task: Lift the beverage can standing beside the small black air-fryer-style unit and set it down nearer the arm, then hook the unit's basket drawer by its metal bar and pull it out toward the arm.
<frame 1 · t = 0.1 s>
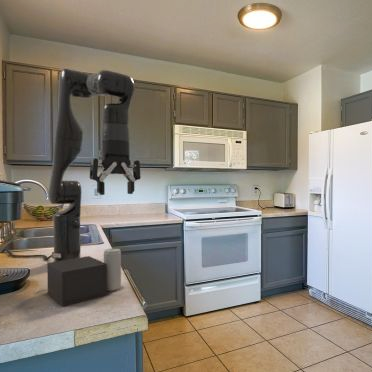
hand: (116, 194, 94), 29 cm above the countertop, tool pointing down, fingers open, 8 cm apart
fryer: (77, 294, 92), on the countertop
beverage can: (112, 289, 97), on the countertop
basket: (71, 275, 95), point 5 cm above the countertop, slide at 0.5 cm
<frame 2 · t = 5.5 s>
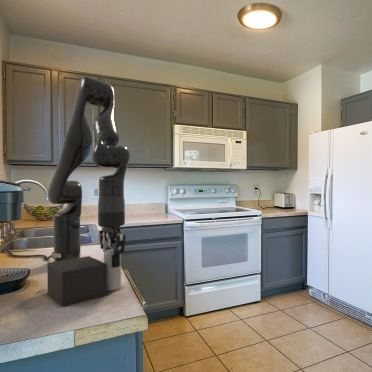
hand: (111, 265, 96), 7 cm above the countertop, tool pointing down, fingers closed on beverage can, 5 cm apart
beverage can: (112, 289, 97), on the countertop, touching gripper
everything else where it was.
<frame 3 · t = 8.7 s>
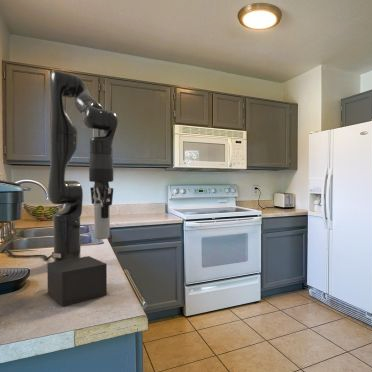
hand: (101, 217, 108), 21 cm above the countertop, tool pointing down, fingers closed on beverage can, 5 cm apart
beverage can: (102, 238, 108), point 13 cm above the countertop, touching gripper
everything else where it was.
when the fingers open (7 cm above the countertop, at t = 12.2 s): beverage can stays where it is, on the countertop.
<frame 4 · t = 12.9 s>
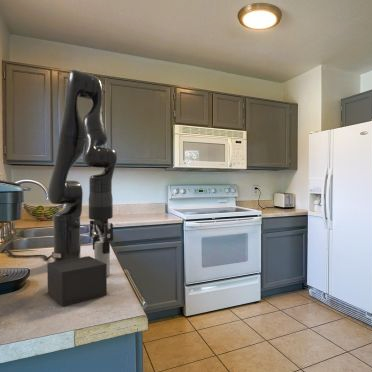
hand: (101, 251, 109), 9 cm above the countertop, tool pointing down, fingers open, 8 cm apart
beverage can: (102, 276, 110), on the countertop
everything else where it was.
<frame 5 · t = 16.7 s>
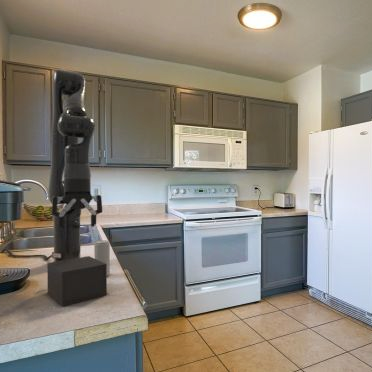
hand: (77, 227, 102), 18 cm above the countertop, tool pointing down, fingers open, 8 cm apart
nothing on the countertop moved.
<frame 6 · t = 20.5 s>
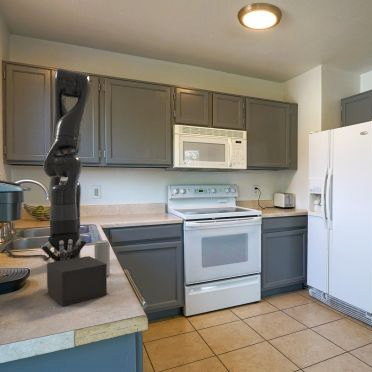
hand: (64, 272, 100), 4 cm above the countertop, tool pointing down, fingers closed
basket: (70, 274, 96), point 5 cm above the countertop, slide at 1.8 cm, touching gripper
everything else where it was.
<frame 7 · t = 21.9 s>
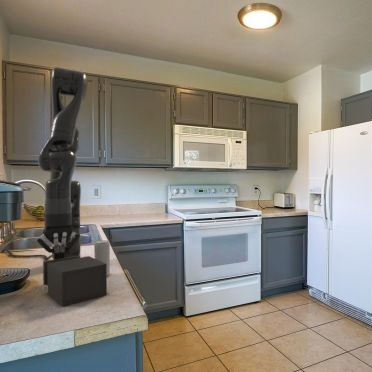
hand: (58, 264, 103), 6 cm above the countertop, tool pointing down, fingers closed
basket: (65, 271, 99), point 5 cm above the countertop, slide at 6.0 cm
everything else where it was.
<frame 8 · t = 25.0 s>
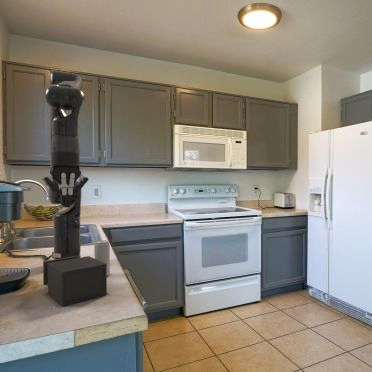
hand: (66, 207, 98), 25 cm above the countertop, tool pointing down, fingers closed
nothing on the countertop moved.
at the end: basket slide at 6.0 cm; beverage can inside the target area (0.3 cm from its centre), on the countertop; beverage can tilted 0° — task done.
